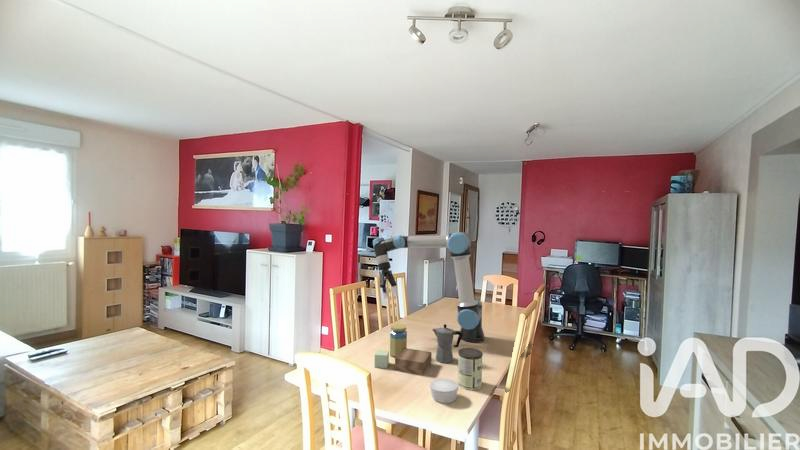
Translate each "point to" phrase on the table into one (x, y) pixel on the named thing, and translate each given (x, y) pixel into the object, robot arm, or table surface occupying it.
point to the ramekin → (444, 390)
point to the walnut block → (413, 361)
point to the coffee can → (470, 368)
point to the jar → (398, 339)
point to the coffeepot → (445, 343)
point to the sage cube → (381, 359)
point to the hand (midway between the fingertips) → (391, 297)
